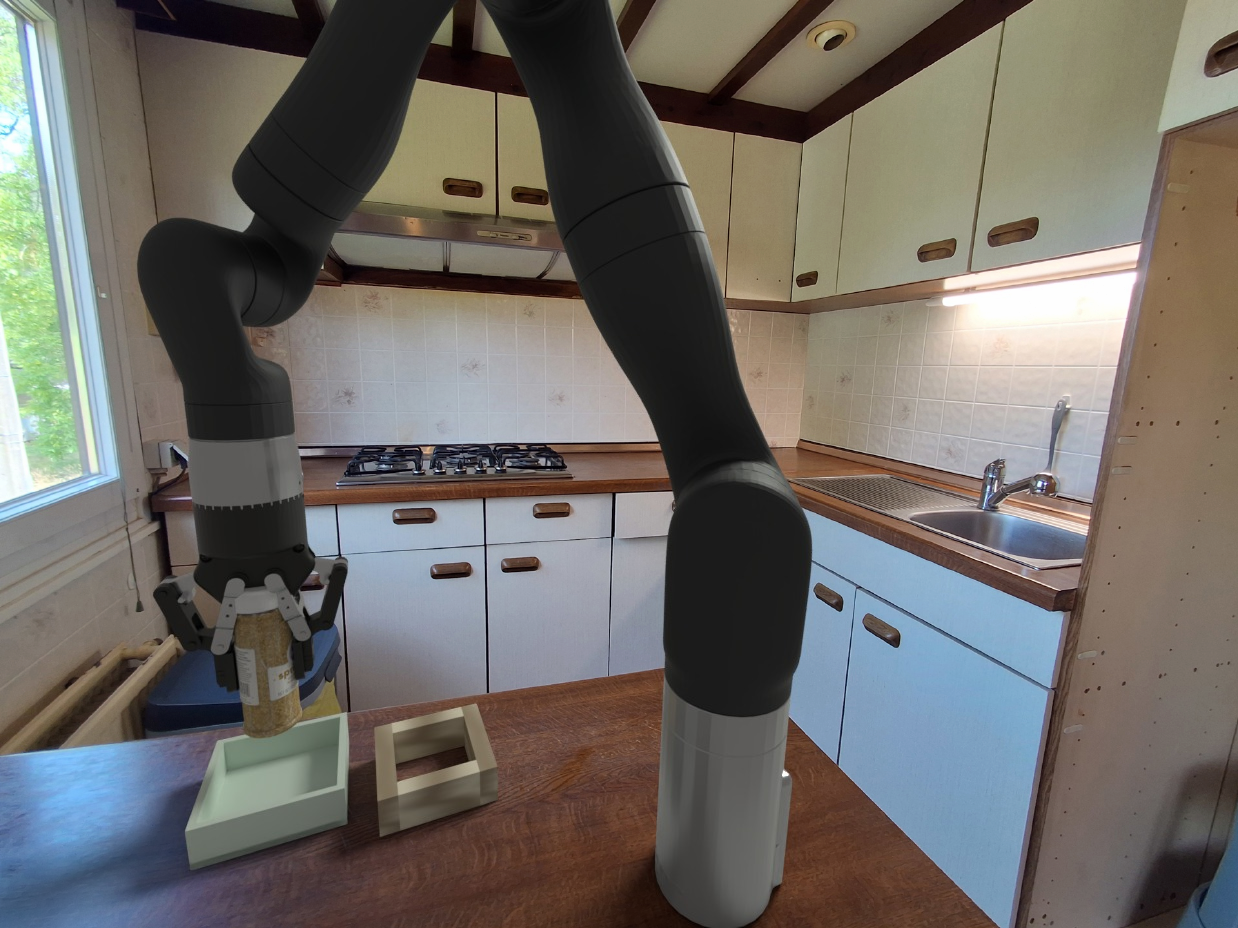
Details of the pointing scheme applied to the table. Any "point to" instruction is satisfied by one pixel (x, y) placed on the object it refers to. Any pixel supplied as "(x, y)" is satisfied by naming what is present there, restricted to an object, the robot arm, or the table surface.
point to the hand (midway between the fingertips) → (269, 679)
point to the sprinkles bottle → (265, 665)
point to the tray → (270, 791)
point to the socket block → (440, 788)
